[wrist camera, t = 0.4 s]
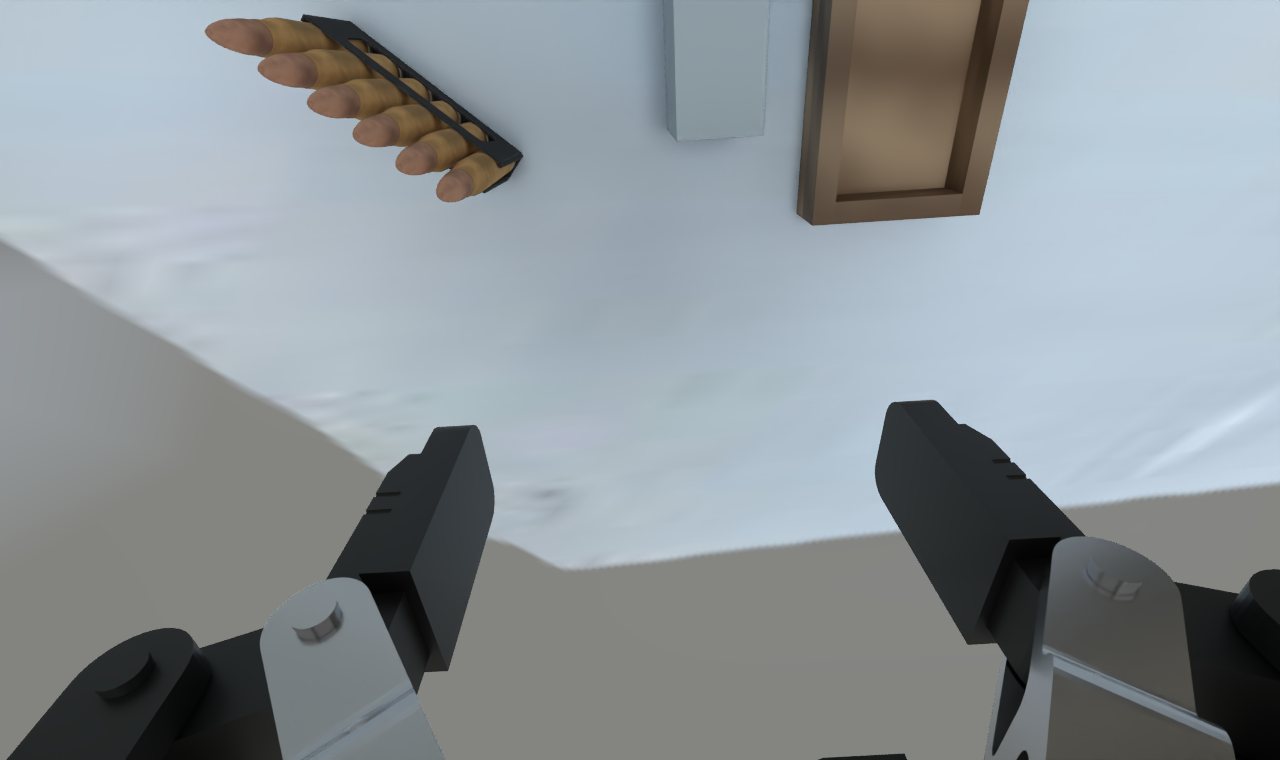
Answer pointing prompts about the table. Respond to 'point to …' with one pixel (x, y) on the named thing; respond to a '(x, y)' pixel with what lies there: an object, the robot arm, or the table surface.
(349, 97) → the ammunition clip
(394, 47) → the table surface
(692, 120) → the long grey rectangular block
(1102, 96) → the table surface
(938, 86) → the cradle jig
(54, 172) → the table surface
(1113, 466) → the table surface
